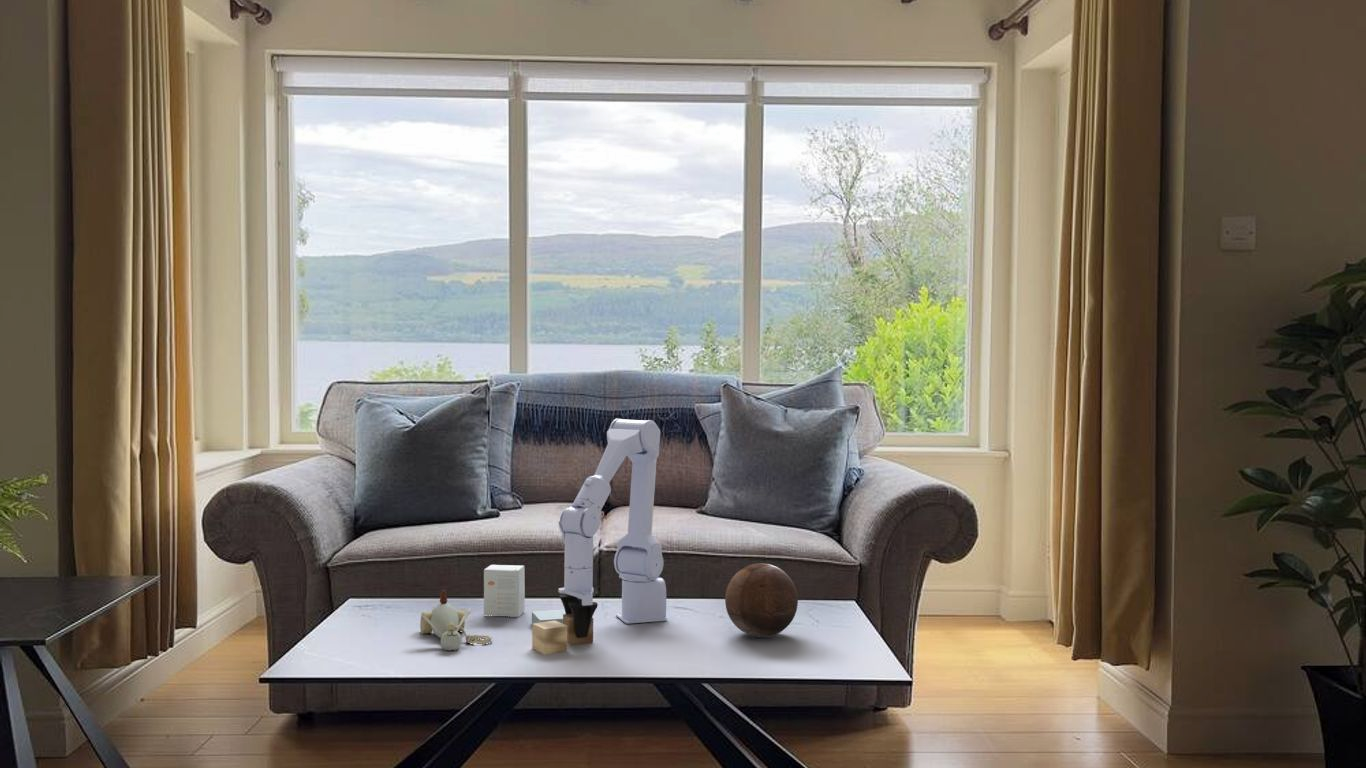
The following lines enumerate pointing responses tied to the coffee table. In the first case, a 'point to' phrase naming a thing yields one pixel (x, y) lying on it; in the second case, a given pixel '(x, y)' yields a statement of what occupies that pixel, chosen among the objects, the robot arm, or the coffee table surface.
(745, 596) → the wooden sphere
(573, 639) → the walnut cube
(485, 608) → the small box
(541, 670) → the coffee table surface
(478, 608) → the coffee table surface
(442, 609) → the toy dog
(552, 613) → the slab
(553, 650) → the oak cube
